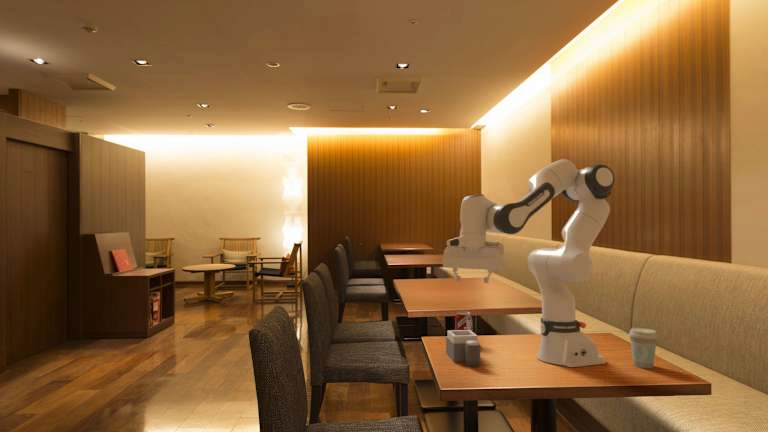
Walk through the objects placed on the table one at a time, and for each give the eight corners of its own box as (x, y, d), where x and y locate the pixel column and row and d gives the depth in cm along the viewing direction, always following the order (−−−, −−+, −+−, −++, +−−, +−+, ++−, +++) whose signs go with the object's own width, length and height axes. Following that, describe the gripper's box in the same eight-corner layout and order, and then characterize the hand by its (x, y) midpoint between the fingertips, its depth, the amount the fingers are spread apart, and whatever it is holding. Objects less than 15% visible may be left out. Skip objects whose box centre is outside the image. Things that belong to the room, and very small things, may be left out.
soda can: (452, 343, 186) (452, 313, 186) (459, 339, 192) (459, 310, 192) (468, 346, 183) (468, 315, 183) (474, 342, 188) (475, 312, 189)
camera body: (469, 352, 174) (469, 329, 174) (479, 361, 163) (479, 336, 163) (446, 352, 173) (446, 329, 173) (453, 361, 162) (453, 337, 162)
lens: (477, 362, 162) (477, 339, 162) (482, 367, 157) (482, 343, 157) (463, 363, 161) (463, 340, 161) (467, 367, 156) (467, 344, 156)
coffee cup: (623, 362, 162) (623, 327, 162) (647, 361, 163) (647, 327, 163) (639, 370, 154) (639, 333, 154) (663, 369, 155) (663, 333, 155)
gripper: (504, 242, 161) (503, 282, 161) (444, 240, 166) (444, 279, 166) (504, 242, 155) (503, 284, 155) (442, 241, 160) (441, 281, 160)
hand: (472, 282), depth 161 cm, fingers open, 8 cm apart
